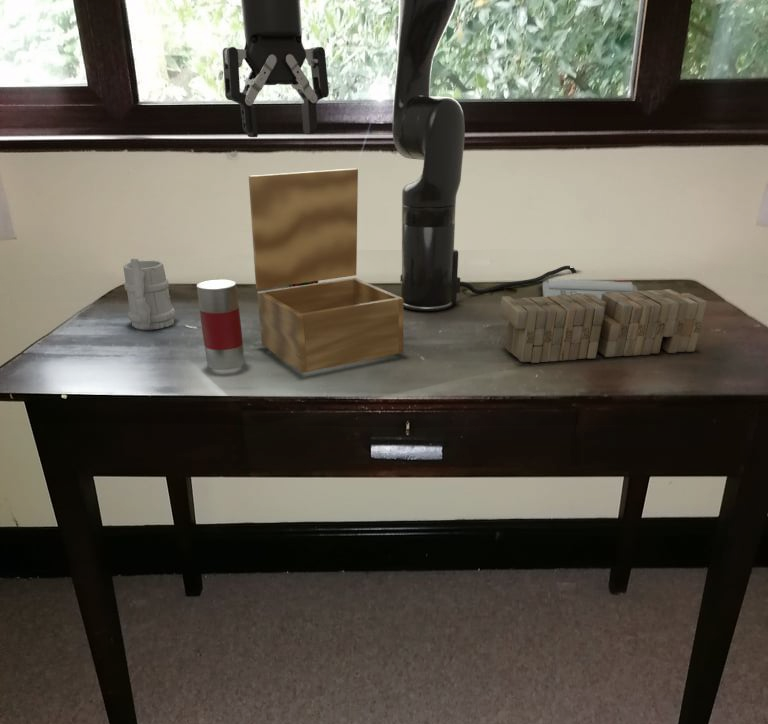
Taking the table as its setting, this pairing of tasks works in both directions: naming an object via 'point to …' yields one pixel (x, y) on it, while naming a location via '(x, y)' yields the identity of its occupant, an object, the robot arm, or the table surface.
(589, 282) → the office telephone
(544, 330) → the block tower
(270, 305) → the chest
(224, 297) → the can
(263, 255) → the lid
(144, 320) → the mug
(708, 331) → the table surface
